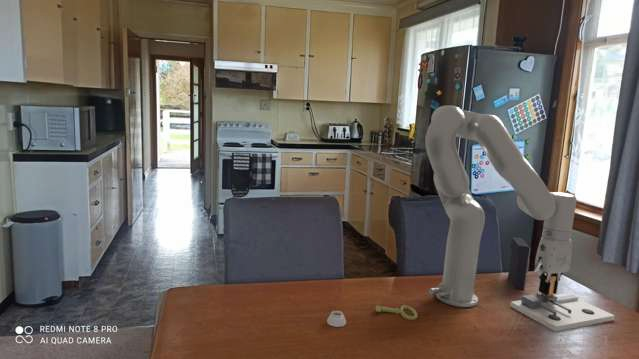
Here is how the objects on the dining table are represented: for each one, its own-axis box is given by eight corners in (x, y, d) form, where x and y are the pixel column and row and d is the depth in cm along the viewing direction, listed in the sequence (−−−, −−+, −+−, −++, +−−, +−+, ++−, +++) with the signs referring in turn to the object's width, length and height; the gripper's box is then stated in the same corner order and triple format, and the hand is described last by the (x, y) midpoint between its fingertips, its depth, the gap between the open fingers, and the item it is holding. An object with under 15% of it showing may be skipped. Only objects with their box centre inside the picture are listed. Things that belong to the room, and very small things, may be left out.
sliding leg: (565, 314, 129) (570, 287, 128) (535, 299, 138) (539, 273, 137) (575, 312, 131) (580, 285, 129) (545, 297, 140) (549, 272, 139)
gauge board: (555, 331, 123) (557, 317, 122) (510, 306, 137) (512, 293, 137) (613, 320, 132) (616, 307, 132) (565, 297, 147) (567, 286, 146)
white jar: (348, 327, 118) (341, 318, 123) (349, 316, 118) (342, 308, 122) (331, 329, 116) (324, 320, 121) (332, 318, 116) (324, 310, 121)
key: (371, 312, 128) (372, 305, 128) (410, 309, 132) (411, 302, 132) (382, 324, 122) (383, 316, 121) (423, 320, 126) (423, 313, 125)
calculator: (526, 290, 151) (532, 247, 149) (512, 288, 152) (518, 245, 149) (518, 278, 162) (524, 238, 159) (506, 277, 163) (511, 236, 160)
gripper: (547, 239, 127) (538, 300, 130) (586, 236, 134) (576, 294, 137) (526, 231, 134) (517, 290, 137) (564, 229, 141) (555, 285, 144)
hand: (547, 292), depth 137 cm, fingers closed on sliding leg, 2 cm apart
